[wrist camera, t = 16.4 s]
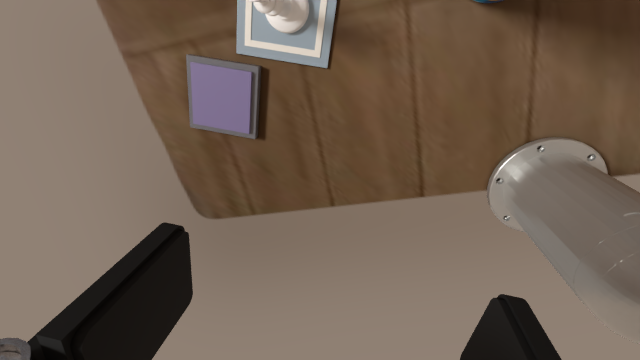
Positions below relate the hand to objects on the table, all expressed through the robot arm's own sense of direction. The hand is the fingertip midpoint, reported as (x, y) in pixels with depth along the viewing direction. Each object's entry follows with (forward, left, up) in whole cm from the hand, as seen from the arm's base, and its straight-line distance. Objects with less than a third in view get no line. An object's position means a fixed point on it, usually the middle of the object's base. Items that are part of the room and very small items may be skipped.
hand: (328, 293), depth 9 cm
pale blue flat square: (+10, -9, -30) cm, 33 cm away
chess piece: (+10, -9, -30) cm, 33 cm away
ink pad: (+17, +2, -30) cm, 35 cm away
